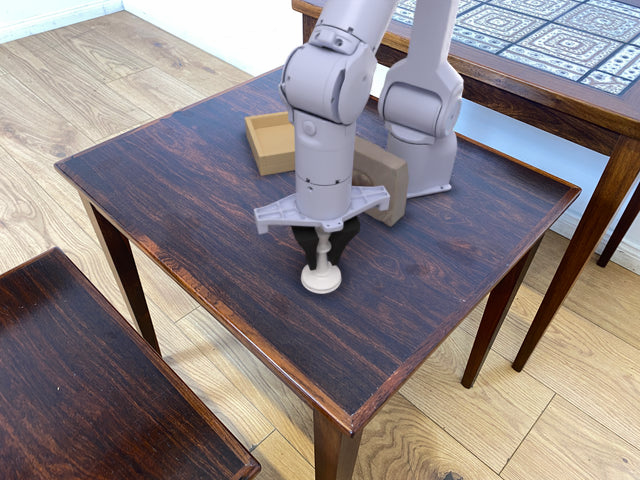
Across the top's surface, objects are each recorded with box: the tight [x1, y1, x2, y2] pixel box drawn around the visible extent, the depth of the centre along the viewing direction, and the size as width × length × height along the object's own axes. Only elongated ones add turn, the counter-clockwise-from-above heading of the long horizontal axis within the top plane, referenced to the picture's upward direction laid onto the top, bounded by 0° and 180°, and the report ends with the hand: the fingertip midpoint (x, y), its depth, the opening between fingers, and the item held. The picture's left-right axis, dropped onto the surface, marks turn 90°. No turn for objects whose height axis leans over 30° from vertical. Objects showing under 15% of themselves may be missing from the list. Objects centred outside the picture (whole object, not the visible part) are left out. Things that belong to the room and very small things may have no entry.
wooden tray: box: [244, 110, 295, 177], centre depth 80 cm, size 16×12×4 cm
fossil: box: [351, 134, 409, 228], centre depth 68 cm, size 12×4×10 cm, turn 49°
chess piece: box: [300, 227, 342, 295], centre depth 58 cm, size 5×5×10 cm
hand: (321, 262), depth 59 cm, fingers closed on chess piece, 2 cm apart
